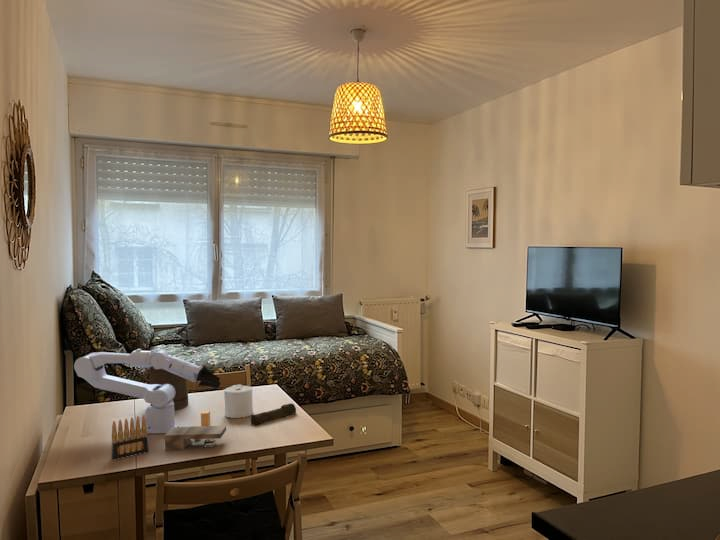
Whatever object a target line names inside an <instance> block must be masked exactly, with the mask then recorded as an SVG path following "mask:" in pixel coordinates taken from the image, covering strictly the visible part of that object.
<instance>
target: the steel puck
mask: <svg viewBox="0 0 720 540" xmlns="http://www.w3.org/2000/svg"><path fill="white" fill-rule="evenodd" d="M214 445H216V446H217V439H204V441H203V447H204V446H206V447H205V448H212V447H211V446H213V447H215V446H214Z"/></svg>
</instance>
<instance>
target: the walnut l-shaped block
mask: <svg viewBox="0 0 720 540" xmlns="http://www.w3.org/2000/svg"><path fill="white" fill-rule="evenodd" d="M225 432H227V425H210V426H201V425H200V426H199V425H198V426H197V425H195V426H178V427H172V428H171V429H170V430H169V431H168V432H167V433H164V450H165V451H185V449H186V448H187V447H188V445H190V443H191V442H192V440H194V439H200V440H207V439H216V440H217V439H221V438H222V437H223V436H224V434H225ZM190 441H191V442H190ZM186 446H187V447H186Z"/></svg>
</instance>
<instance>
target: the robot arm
mask: <svg viewBox="0 0 720 540" xmlns="http://www.w3.org/2000/svg"><path fill="white" fill-rule="evenodd" d="M169 353H170V352H169V351H168V350H166V349H161V348H160V349H158V350H156V349H150V350H142V348H137V349H135V350H133V351H132V352H131V353H122V352H121V353H120V352H109V351H108V352H107V351H100V352H99V351H98V352H93V351H92V352H89V353H88V354H86V355H84V356H81V357H78V358H77V359H76V360H75V361H74V364H73V368H74V371H75V373H76V376H77V377H78V378H81V379H83V380H85V381H86V382H87V383H88V384H90V385H91V386H92V387H93V388H95V389H100V390H103V391H108V392H112V393H117V394H121V395H124V396H125V395H126V396H130V397H135V398H139V399H143V400H144V402H145V403H148V404H149V405H148V406H147V407H146V409H145V415H144V417H145V421H146V428H147V435H149V434H166V433H167V432H168V431H169V430H170V429H171V428H172V427H180V425H179V424H176V421H175V410H174V402H173V398H174V397H175V394H176V391H175V388H174V387H173V386H172V385H170V384H164V385H159V384H152V385H150V383H149V384H148V383H144V382H139V381H137V380H136V381H135V380H132V379H126V378H123V377H118V376H114V375H110V374H107V372H106V369H105V365H106V364H129V365H130V366H131V367H134V368H135V367H136V368H137V367H139V368H141V367H143V368H149V367H152V366H153V367H154V369H164V370H166V371H168V372H171V373H173V374H176V375H178V376H180V377H183V378H185V379H187V381H190V382H191V383H195V382H199V383H198V387H207V388H208V387H209V388H215V389H219V387H220V386H221V384H222V383H221V382H220V380H221V378H220V377H219V376H217V375H216V374H214V373H213V372H212V371H210V370H209V369H208V368H207V367H206V365H203V363H200V362H199V365H197V364H194V363H192V362H189V361H187V360H186V361H185V359H183V358H180V357H178V356H175V355H173V354H172V355H170V354H171V353H170V354H169ZM150 404H152V405H153V406H151V405H150Z"/></svg>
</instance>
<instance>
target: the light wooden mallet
mask: <svg viewBox="0 0 720 540" xmlns="http://www.w3.org/2000/svg"><path fill="white" fill-rule="evenodd" d="M200 424H201V425H200V426H211V411H210V410H203V411H201V413H200ZM194 440H199V439H193V441H194ZM199 441H200V440H199Z"/></svg>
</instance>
